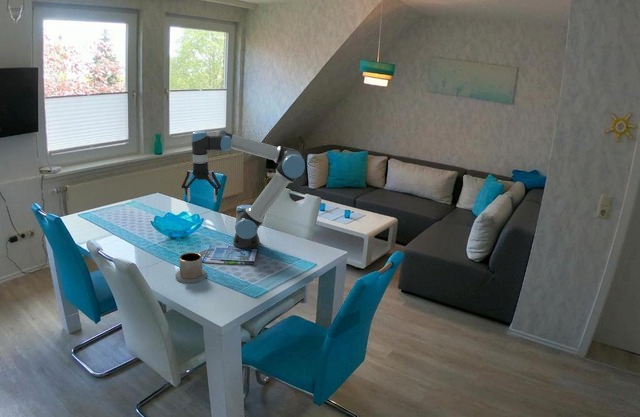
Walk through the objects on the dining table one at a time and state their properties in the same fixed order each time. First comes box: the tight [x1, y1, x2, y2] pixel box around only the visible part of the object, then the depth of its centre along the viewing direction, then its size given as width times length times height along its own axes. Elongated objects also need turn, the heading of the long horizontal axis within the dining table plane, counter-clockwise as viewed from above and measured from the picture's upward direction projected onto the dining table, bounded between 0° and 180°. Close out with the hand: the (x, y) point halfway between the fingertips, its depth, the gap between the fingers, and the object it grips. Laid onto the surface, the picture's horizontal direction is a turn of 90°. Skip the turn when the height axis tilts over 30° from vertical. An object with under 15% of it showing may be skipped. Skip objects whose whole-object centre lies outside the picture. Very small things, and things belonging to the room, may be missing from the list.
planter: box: [178, 252, 203, 279], centre depth 246 cm, size 11×11×10 cm
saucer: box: [174, 269, 208, 284], centre depth 247 cm, size 15×15×1 cm
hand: (202, 201), depth 264 cm, fingers open, 13 cm apart
